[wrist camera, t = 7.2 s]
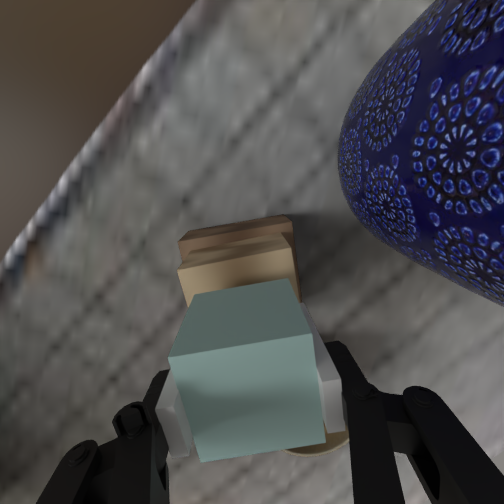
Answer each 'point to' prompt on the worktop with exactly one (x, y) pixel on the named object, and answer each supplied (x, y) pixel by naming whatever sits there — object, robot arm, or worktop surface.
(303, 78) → the worktop surface
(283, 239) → the tower top
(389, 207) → the planter
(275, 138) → the worktop surface
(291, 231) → the tower base
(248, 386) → the teal cube
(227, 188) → the worktop surface
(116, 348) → the worktop surface
